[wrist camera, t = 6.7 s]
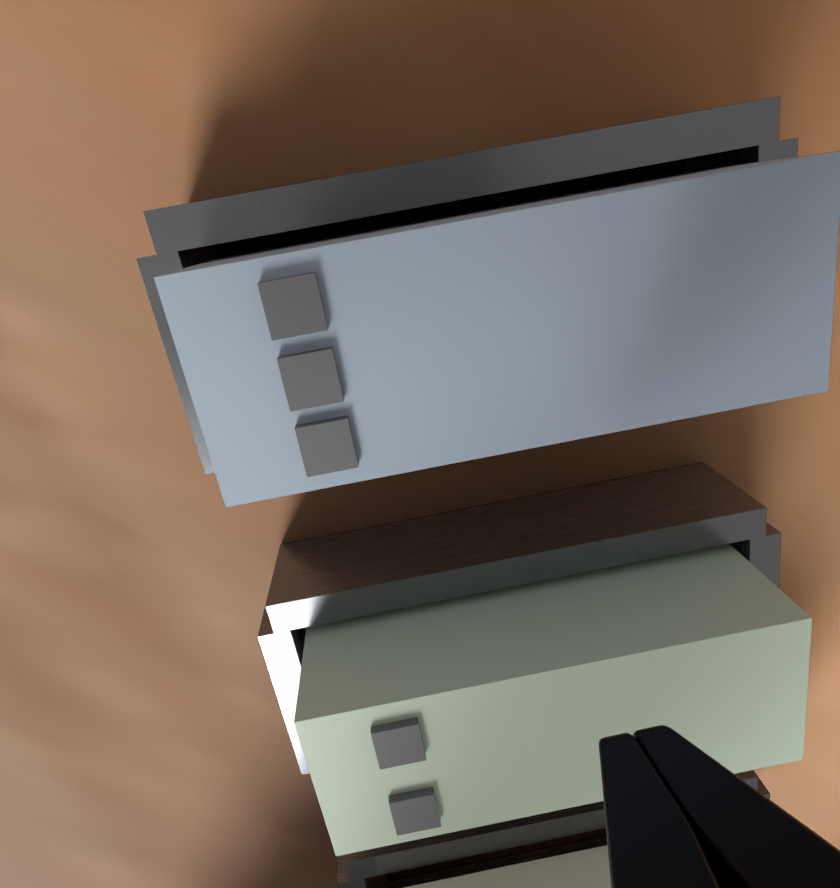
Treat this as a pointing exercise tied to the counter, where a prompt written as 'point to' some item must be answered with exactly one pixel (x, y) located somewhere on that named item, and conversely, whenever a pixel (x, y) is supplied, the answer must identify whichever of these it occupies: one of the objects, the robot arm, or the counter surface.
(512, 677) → the sage key
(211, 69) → the counter surface
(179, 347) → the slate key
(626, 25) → the counter surface
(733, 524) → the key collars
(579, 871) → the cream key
